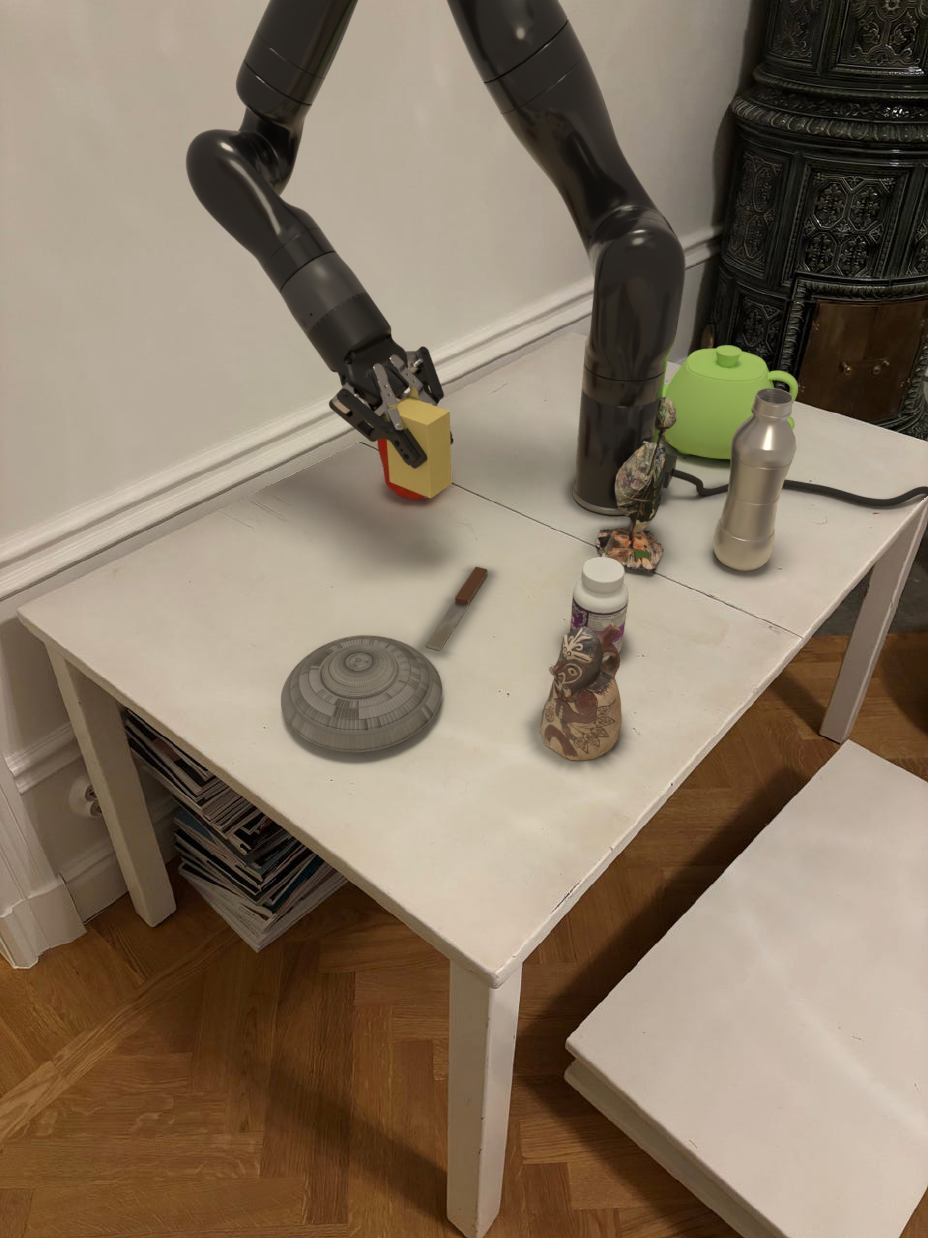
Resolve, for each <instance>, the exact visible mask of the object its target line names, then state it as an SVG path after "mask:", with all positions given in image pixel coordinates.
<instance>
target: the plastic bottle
mask: <svg viewBox="0 0 928 1238" xmlns="http://www.w3.org/2000/svg"><path fill="white" fill-rule="evenodd" d="M793 405H794V403H793V396H792V395H791V394H790V393H789V391H786V390H784V389H781V388H776V387H774V388H764V389H761V390H759V391H757V392H756V395H755V399H754V403H753V405H752V408H751V412H752V413H753V415H751V416H750V417H749V418H747V419H746V420H745V421H744V422H743V423H742V424H741V425H740V426H739V427H738V428H737V429H736V431H735V433H734V435H733V437H732V441H731V460H730V463H729V465H730V466H729V467H730V468H729V469H730V470H729V478H728V484H729V486H728V491H727V492H726V497H725V501H724V503H723V504H724V505H723V508H722V511H721V515H720V518H719V519H718V522H717V524H716V526H715V530H714V532H713V535H712V538H713V539H712V549H713V553H714V555H715V556H716V558H717V560H718V561H719V562H720V563H721V564H723V565H724V566H726V567H728V568H731V569H733V570H736V571H737V570H738V571H745V572H747V571H754V570H755V571H756V570H757V569H760V568H761V567H762V566H763V565H765V564H766V563H767V562H769V560H770V558H771V555H772V554H773V551H774V548H775V539H776V537H775V536H776V533H775V532H776V531H775V525H776V519H777V511H778V503H779V499H780V496H781V492H782V489H783V487H782V486H783V483H784V480H786V477H787V475H788V473H789V470H790V468H791V465H792V462H793V460H794V457H795V455H796V451H797V439H796V436H795V434H794V431H793V430H792V428H791V427H790V425H789V423H788V421H787V419H789V418H790V417H792V408H793Z"/></svg>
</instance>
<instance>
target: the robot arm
mask: <svg viewBox="0 0 928 1238" xmlns="http://www.w3.org/2000/svg"><path fill="white" fill-rule="evenodd" d="M358 3H359V0H269V1H268V3H267V6H266V8H265V10H264V12H263V14H262V16H261V19H260V20H259V22H258V25H257V27H256V30H255V31H254V35H253V36H252V39H251V41H250V44H249V46H248V48H247V51H246V53H245V56H244V57H243V60H242V62H241V64H240V67H239V70H238V72H237V75H236V80H235V91H236V94H237V96H238V98H239V100H240V101H241V103H242V104H243V105H244V106H245V111H244V115H243V118H242V122H241V124H240V127H239V128H238V130H231V129H220V128H213V129H209V130H205V131H202V132H200V133H199V134H197V135H196V136H195V137H194V138H193V139H192V140H191V142H190V143H189V145H188V147H187V151H186V156H185V170H186V174H187V175H186V176H187V178H188V182H189V184H190V187H191V189H192V191H193V193H194V195H195V197H196V198H197V200H198V202H200V204H201V205H202V207H203V208H204V210H205V211H206V212H207V213H208V214H209V216H211V217H212V219H214V221H216V222H217V224H219V226H221V227H222V229H224V230H225V231H226V232H227V233H228V234H229V235H230V236H231V237H232V238H233V239H234V240H235V241H236V242H237V243H238V244H239V245H240V246H241V247H243V248H244V249H245V250H246V251H247V252H248V253H249V254H251V255H252V256H253V257H254V258H255V259H256V261H257V262H258V263H259V264H258V265H260V267H261V269H262V270H263V271H264V273H265V275H266V276H267V277H268V279H269V280H270V281H271V283H272V285H273V286H274V287H275V289H276V290H277V293H279V294H280V296H281V297H282V300H283V301H284V303H285V304H286V307H287V309H288V311H289V312H290V314H291V316H292V317H293V319H294V321H295V322H296V324H297V325H298V326H299V328H300V329H301V331H302V332H303V333H304V335H305V336H306V338H307V339H308V341H309V342H310V343H311V345H312V346H313V348H314V349H315V351H316V353H318V355H319V357H320V358H321V359H322V361H323V362H324V364H325V365H326V366H327V368H328V369H329V370H330V371H331V372H332V373H337V375H338V377H339V381H340V385H341V388H340V389H339V391H338V392H337V393H336V394H334V396H333V397H332V398H331V399H330V400H329V401H328V406H329V408H330V409H331V410H332V411H333V412H334V413H335V414H337V415H338V416H339V417H340V418H341V419H343V421H345V422H346V423H348V424H349V425H350V426H351V427H353V428H354V429H355V430H356V431H357V432H359V433H360V434H361V435H362V436H363V437H365V438H366V439H367V440H368V441H369V442H371V443H375V442H377V440H380V439H386V440H389V441H390V442H391V443H392V444H393V446H394V447H395V449H396V450H397V452H398V453H399V454H400V456H401V457H402V459H403V460H404V462H405V463H406V464H408V465H410V466H411V467H412V468H414V469H416V468H417V467H419V466H420V465H422V464H423V463H424V462H425V461H427V459H428V458H427V455H426V453H425V452H424V450H423V449H422V448H421V446H420V445H419V443H418V442H417V440H416V439H415V437H414V436H413V435H412V433H411V432H410V430H409V429H408V428H407V429H405V430H404V422H403V420H402V418H401V416H400V414H399V412H398V409H397V406H398V401H400V400H402V399H403V398H405V397H407V398H411V399H413V398H414V399H416V400H419V401H422V402H425V403H428V404H431V405H434V406H437V407H438V405H439V403H440V401H441V400H443V399H444V397H445V393H444V390H443V387H442V385H441V384H442V383H441V381H440V378H439V376H438V373H437V370H436V368H435V364H434V361H433V359H432V356H431V354H430V353H431V352H430V351H429V349H428V348H427V347H426V346H420V347H419V348H418V349H417V350H409V351H406V350H405V348H403V346H401V345H399V344H398V343H397V342H396V341H395V340H394V339H393V336H392V326H391V324H390V323H389V321H388V320H387V318H386V317H385V316H384V314H383V313H382V311H381V310H380V309H379V307H378V305H377V304H376V303H375V302H374V299H372V296H371V295H370V294H369V293H368V291H367V289H365V287H364V285H363V284H362V282H361V281H360V280H359V277H357V275H356V274H355V272H354V271H353V270H352V269H351V267H350V266H349V265H348V264H347V263H346V261H344V259H343V258H342V257H341V256H340V254H339V253H338V252H337V250H336V249H335V247H334V246H333V244H332V243H331V242H330V240H329V239H328V237H327V236H326V234H325V232H324V231H323V230H322V228H321V227H320V226H319V224H318V223H317V221H316V220H315V219H314V218H313V217H312V216H311V215H310V213H308V212H307V211H306V210H305V209H303V208H300V207H297V206H295V205H293V204H290V203H289V202H288V201H286V200H285V199H283V198H282V197H281V195H282V194H283V193H284V191H285V190H286V188H287V186H288V185H289V183H290V180H291V177H292V175H293V172H294V169H295V166H296V161H297V157H298V153H299V149H300V145H301V143H302V137H303V131H304V126H305V121H306V117H307V115H308V114H309V112H310V110H311V108H312V106H313V104H314V102H315V100H316V99H317V96H318V94H319V92H320V90H321V89H322V86H323V84H324V82H325V80H326V78H327V76H328V74H329V71H330V69H331V67H332V65H333V63H334V61H335V59H336V56H337V55H338V52H339V50H340V48H341V45H342V43H343V40H344V38H345V35H346V33H347V31H348V27H349V25H350V22H351V20H352V17H353V14H354V12H355V9H356V7H357V5H358ZM446 3H447V5H448V9H449V11H450V13H451V16H452V19H453V21H454V23H455V26H456V28H457V31H458V33H459V36H460V37H461V40H462V42H463V44H464V47H465V49H466V51H467V53H468V55H469V58H470V60H471V62H472V65H473V67H474V68H475V70H476V72H477V74H478V76H479V78H480V80H481V81H482V83H483V85H484V86H485V89H486V91H487V92H488V94H489V95H490V97H491V99H492V101H493V103H494V104H495V106H496V108H497V110H498V111H499V113H500V115H501V116H502V118H503V119H504V121H505V123H506V124H507V126H508V127H509V129H510V130H511V132H512V133H513V135H514V136H515V137H516V139H517V140H518V142H519V143H520V145H521V146H522V147H523V149H524V150H525V151H526V152H527V154H528V155H529V156H530V157H531V159H532V160H533V161H534V162H535V163H536V165H537V166H538V167H539V168H540V170H541V171H542V172H543V173H544V174H545V175H546V176H547V178H548V180H550V182H551V183H552V184H553V186H554V187H555V189H556V191H557V192H558V194H559V195H560V197H561V199H562V201H563V203H564V204H565V206H566V208H567V211H568V213H569V215H570V217H571V220H572V222H573V224H574V227H575V228H576V231H577V233H578V235H579V238H580V240H581V243H582V245H583V248H584V251H585V253H586V256H587V259H588V263H589V267H590V270H591V273H592V276H593V294H592V304H591V305H592V306H591V315H590V316H591V319H590V329H589V335H588V336H587V338H586V340H585V341H584V342H585V343H584V355H583V364H582V365H583V366H582V367H583V368H582V378H581V379H582V380H581V390H580V391H581V392H580V402H579V403H580V404H579V417H578V418H579V419H578V431H577V442H576V443H577V444H576V455H575V469H574V470H575V471H574V478H573V486H572V495H573V498H574V500H575V502H577V503H578V504H579V505H580V506H582V507H583V508H585V509H587V510H589V511H592V512H594V513H598V514H603V515H609V516H612V515H613V516H614V515H615V516H619V515H620V516H621V515H623V514H622V512H621V511H620V509H619V508H618V506H617V501H616V495H615V482H616V475H617V474H618V472H619V470H620V468H621V467H622V466H623V464H624V463H625V462H626V461H627V460H628V459H629V458H630V457H631V456H632V455H633V454H634V452H635V451H636V450H638V449H639V448H641V447H642V446H643V445H645V444H646V443H655V442H658V438H659V437H658V433H659V430H657V429H656V428H655V420H656V414H657V406H658V402H659V400H660V399H661V398H662V395H663V388H664V384H665V380H666V374H667V373H666V372H667V367H668V360H669V355H670V354H671V351H672V349H673V347H674V345H675V341H676V337H677V330H678V324H679V320H680V319H679V318H680V313H681V306H682V302H683V295H684V288H685V282H686V281H685V280H686V265H687V264H686V255H685V251H684V249H683V246H682V243H681V242H680V240H679V238H678V236H677V234H676V233H675V231H674V229H673V227H672V225H671V224H670V223H669V221H668V219H667V218H666V217H665V216H664V215H663V213H662V212H661V210H660V209H658V207H657V206H656V204H655V202H654V201H653V200H652V198H651V197H650V195H649V193H648V192H647V191H646V189H645V187H644V186H643V184H642V182H641V181H640V180H639V178H638V176H637V175H636V173H635V172H634V170H633V168H632V166H631V165H630V163H629V162H628V160H627V158H626V156H625V154H624V152H623V151H622V148H621V146H620V144H619V141H618V138H617V136H616V133H615V129H614V127H613V123H612V120H611V117H610V114H609V113H610V112H609V109H608V107H607V105H606V101H605V99H604V98H605V97H604V96H603V93H602V90H601V88H600V87H601V86H600V84H599V82H598V80H597V77H596V74H595V72H594V70H593V68H592V66H591V63H590V61H589V58H588V56H587V54H586V52H585V50H584V47H583V46H582V44H581V42H580V40H579V38H578V35H577V33H576V32H575V29H574V28H573V26H572V25H573V24H571V22H570V20H569V19H568V16H567V14H566V12H565V10H564V8H563V6H562V5H561V3H560V0H446ZM408 389H409V390H408ZM407 390H408V392H406V391H407ZM386 415H387V417H388V419H389V421H390V422H389V421H388V420H387V418H386ZM453 437H454V436H453V434H452V431H451V430H450V440H451V446H452V445H453V444H454V438H453ZM666 458H667V462H666V471H665V477H664V483H663V487H662V489H668V488H669V485H670V483H671V481H672V479H673V478H676V479H679V480H682V481H685V482H688V483H691V484H693V485H694V486H695V491H696V493H697V494H698V495H700V496H704V497H710V496H716V495H719V494H723V493H727V492H728V486H729V483H727V484H724V485H721V486H716V487H712V488H711V487H710V488H708V487H704V482H703V481H702V479H700V478H699V477H697V476H695V475H694V474H691V473H688V472H686V471H681V470H678V469H676V467H677V460H678V455H677V454H672V453H666ZM783 487H784V488H791V489H798V490H803V491H808V492H813V493H819V494H824V495H829V496H833V497H836V498H839V499H843V500H845V501H849V502H852V503H856V504H860V505H865V506H871V507H882V508H883V507H894V506H897V505H900V504H904V503H905V502H908V501H909V500H911V499H913V498H916V497H918V496H920V495H927V496H928V486H926V485H923V486H917V487H914V488H913V489H912V488H911V490H908V491H906V492H905V493H902V494H900V495H897V496H895V497H891V498H873V497H867V496H863V495H859V494H856V493H851V492H849V491H845V490H842V489H838V488H835V487H831V486H827V485H823V484H817V483H810V482H805V481H798V480H792V479H785V480H784V483H783V486H782V488H783Z"/></svg>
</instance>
